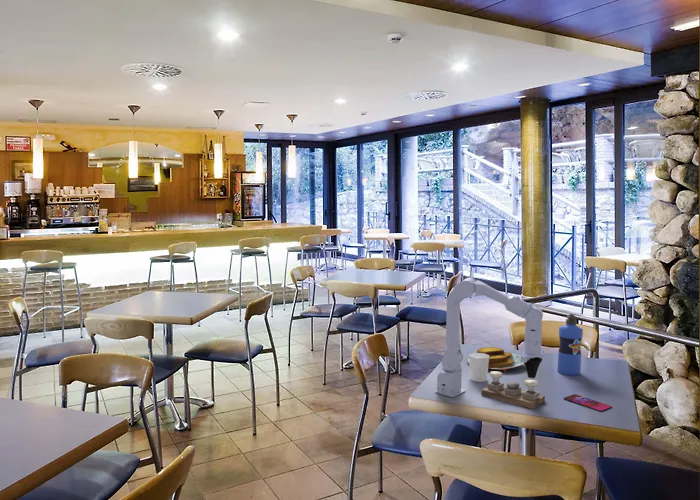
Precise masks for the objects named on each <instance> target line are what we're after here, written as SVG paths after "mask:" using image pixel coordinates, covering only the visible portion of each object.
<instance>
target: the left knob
mask: <svg viewBox="0 0 700 500" xmlns="http://www.w3.org/2000/svg"><path fill="white" fill-rule="evenodd" d="M489 373H490V374H489V376H490V377H491V378H492V381H493V382H500V378H502V377H503V372H501V371H497V370H496V371H495V370H494V371H493V370H492V371H490V372H489Z"/></svg>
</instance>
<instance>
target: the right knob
mask: <svg viewBox="0 0 700 500" xmlns="http://www.w3.org/2000/svg"><path fill="white" fill-rule="evenodd" d="M524 385H525V386H527V389H528V391H536V390H535V389H536V387H539V382H538V381H537V380H536V379H525V380H524Z"/></svg>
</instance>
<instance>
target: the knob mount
mask: <svg viewBox="0 0 700 500" xmlns="http://www.w3.org/2000/svg"><path fill="white" fill-rule="evenodd" d="M481 395H482V396H485V397H488V398H492V399H495V398H496V400H499V401H502V400H503V401H502V402H507V403H511V404H513V405H517V406H521V407H525V408H529V409H534V408H536V407H537V406H539V405H541V404H542V403H544V402H545V399H546V396H545V395H543V394H540V392H539V391H537V390H535V391H528V388H527V389H526V390H522V387H520V383H518V382H516V381H508V382H506V385H505V383H504V382H501V381H499V382H493V380H491V381H489V382H487V386H486V387H484V388H482V389H481Z"/></svg>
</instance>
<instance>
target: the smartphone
mask: <svg viewBox="0 0 700 500" xmlns="http://www.w3.org/2000/svg"><path fill="white" fill-rule="evenodd" d="M563 400H564V401H567V402H569V403H573V404H576V405H579V406H582V407H584V408H588V409H591V410H594V411H596V412H598V413H602V412H605V411H608V410H610V409H612V408H613V406H612V405H609V404H607V403H603V402H601V401H597V400H594V399H591V398H588V397H585V396H582V395H580V394H576V393H573V394H570V395H568V396H565V397H563Z"/></svg>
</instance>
